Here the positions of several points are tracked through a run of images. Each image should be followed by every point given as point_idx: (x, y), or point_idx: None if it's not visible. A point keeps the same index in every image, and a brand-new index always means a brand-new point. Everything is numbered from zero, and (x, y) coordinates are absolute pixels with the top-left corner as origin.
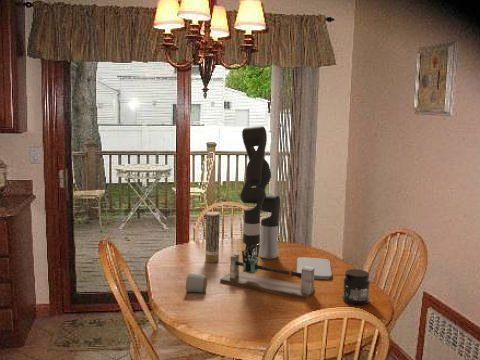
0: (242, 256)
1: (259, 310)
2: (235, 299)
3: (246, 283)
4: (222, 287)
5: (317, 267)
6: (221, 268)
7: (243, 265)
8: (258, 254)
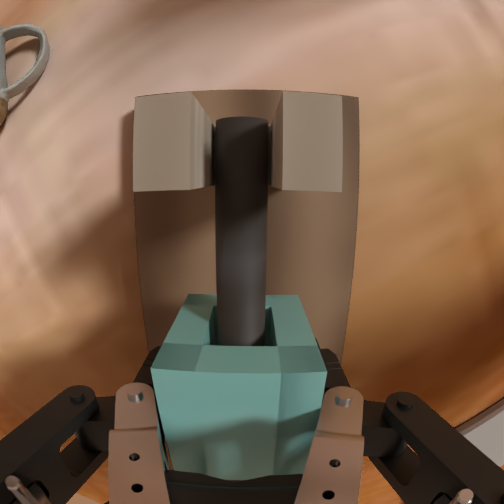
0: (6, 436)
1: (20, 417)
2: (10, 316)
3: (159, 316)
4: (75, 170)
5: (497, 452)
6: (402, 7)
7: (173, 326)
8: (407, 462)
